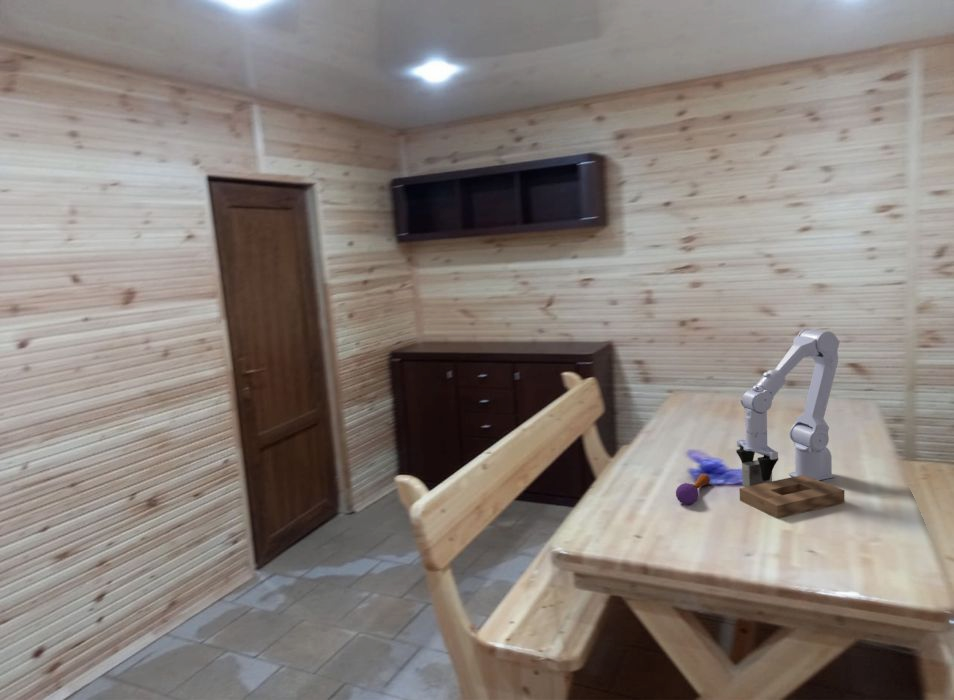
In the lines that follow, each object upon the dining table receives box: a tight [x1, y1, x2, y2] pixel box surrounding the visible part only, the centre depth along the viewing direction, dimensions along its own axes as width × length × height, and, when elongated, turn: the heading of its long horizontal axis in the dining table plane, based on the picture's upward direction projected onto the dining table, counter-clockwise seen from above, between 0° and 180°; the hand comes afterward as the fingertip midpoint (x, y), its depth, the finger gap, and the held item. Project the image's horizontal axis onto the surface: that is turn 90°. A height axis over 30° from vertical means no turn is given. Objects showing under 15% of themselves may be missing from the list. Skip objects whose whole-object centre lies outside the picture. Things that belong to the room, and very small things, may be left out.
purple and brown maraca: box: [675, 473, 711, 506], centre depth 183 cm, size 6×6×20 cm
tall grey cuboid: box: [741, 459, 773, 487], centre depth 186 cm, size 8×3×7 cm, turn 107°
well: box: [739, 475, 846, 520], centre depth 173 cm, size 22×14×4 cm, turn 107°
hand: (757, 476), depth 186 cm, fingers open, 7 cm apart
